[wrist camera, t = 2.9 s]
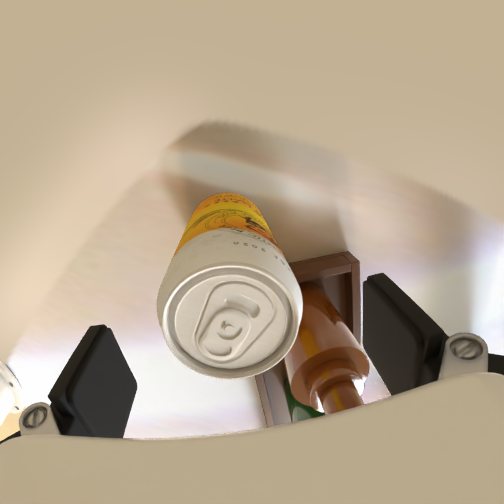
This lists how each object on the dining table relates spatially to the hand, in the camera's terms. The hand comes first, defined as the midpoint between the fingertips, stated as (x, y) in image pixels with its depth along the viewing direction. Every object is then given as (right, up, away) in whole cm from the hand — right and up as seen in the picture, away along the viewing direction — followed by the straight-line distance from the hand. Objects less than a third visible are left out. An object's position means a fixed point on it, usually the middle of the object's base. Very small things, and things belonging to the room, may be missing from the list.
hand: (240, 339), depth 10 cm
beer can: (-2, +5, +15) cm, 16 cm away
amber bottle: (+5, -2, +18) cm, 18 cm away
